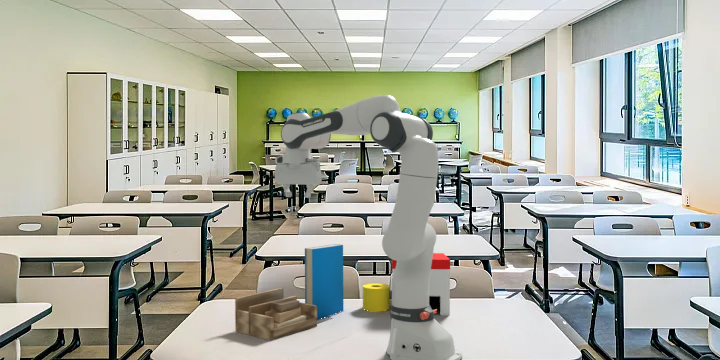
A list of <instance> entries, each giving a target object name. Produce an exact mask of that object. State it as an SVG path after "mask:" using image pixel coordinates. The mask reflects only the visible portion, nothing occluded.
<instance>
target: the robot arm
mask: <svg viewBox="0 0 720 360" xmlns="http://www.w3.org/2000/svg"><path fill="white" fill-rule="evenodd" d="M331 134H335V135H347V136H365V135H366V136H367V135H370V136H371V139H372V140H373V142H374V143H376V144H377V145H379V146H381V147H383V148H384V149H387V150H388V151H390V152H392V153H395V152H398V154H400V157H401V158H400V159H401V164H400V171H399V178H398V186H397V193H396V198H395V199H396V200H395V202H394V203H395V204H394V207H393V211H392V214H391V217H390V218H389V219H390V220H389V224H388V227H387V229H386V231H385V233H384V235H383V236H382V241H381V246H382V249H383V252H384V254H385V255H386V256H387V258H388V257H389V259H391V260H392V259H393V260H397V263H396V268H395V272H394V274H393V277H392V276H391V304H390V309H389V310H390V322H391V323H390V324H391V325H390V326H391V327H390V333H389V340H388V345H387V348H386V354H387V355H389V359H390V360H462V358H463V352H462V351H459V350H456V349H455V341H454V338H453V335H452V334H451V333H450V332H449V331H448V330H447V329H446V328H445V327H444V326H442V325H441V323H440V322H439V321H437V319H435V315H434V314H436V313H438V312H437V311H438V309H437V308H436V309H432V307H431V305H430V296H429V277H430V270H431V264H432V258H433V253H434V249H435V244H436V242H437V233H436V230H435V228H434V227H433V226H432V225H431V224H430V223H428V221H429V217H430V214H431V212H432V209H433V207H434V204H435V198H436V191H437V183H438V175H439V174H438V173H439V149H438V145H437V144H436V143H435V141H433V137H434V130H433V126H432V125H431V123H430V122H428V120H426V119H425V118H423V117H421V116H418V115H415V114H412V113H406V112H402V111H401V108H400V104H399V102H398V100H397V99H396V98H395V97H394V96H392V95H389V94H380V95H375V96H371V97H367V98H364V99H361V100H359V101H356V102H354V103H351V104H349V105H346V106H343V107H341V108H338V109H335V110H333V111H330V112H327V113H323V114H320V115H317V116H312V117H311V116H310V115H309V113H306V112H294V113H291V114H289V115H288V116H287V117H286V122H285V123H284V124H283V125H282V127H281V131H280V137H281V140H282V143H284V146H285V153H283V154H281V155H279V156H278V157H275V158H274V160H275V161H274V163H275V164H276V166H275V169H274V181H275V183H276V184H277V185H282V189H283V190H284V193H285V197H286V198H291V197H293V194H292V193H293V192H292V191H291V190H290V187H291V185H306V188H307V189H306V192H304V198H307V199H309V198H311V196H312V191H313V190H314V186H317V185H318V186H319V185H321V183H322V178H323V177H322V169H321V162H320V161H319V160H318V158H311V150H312V149H314V150H319V149H320V150H321V149H325V148H326V147H327V146H328V145H329V143H330V142H331V138H332V136H331Z"/></svg>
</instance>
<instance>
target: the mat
mask: <svg viewBox="0 0 720 360" xmlns="http://www.w3.org/2000/svg"><path fill="white" fill-rule="evenodd" d="M329 319H330V320H332V319H333V318H322V319H317V325H318V324H322V323H324V322H326V321H327V322H328V321H329Z"/></svg>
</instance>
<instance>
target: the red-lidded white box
mask: <svg viewBox="0 0 720 360" xmlns="http://www.w3.org/2000/svg"><path fill="white" fill-rule="evenodd" d="M391 260H392V264H391V265H392V266H391V268H392V275H391V278H392V277H393V274H394V272H395V268H396V263H397V260H393V259H391ZM450 276H451V259H450V258H449V257H448V256H447V255H446V254H445V253H444V252H443V253H442V252H437V253H435V252H433V258H432V264H431V270H430V277H429V297H437V299H438V303H440V304H439V305H440V307H439V309H440V311H439V314H440V316H451V315H450V313H451V312H450V311H451V308H450V307H451V306H450V305H451V301H450V300H451V298H450V297H451V292H450V291H451V289H450V288H451V283H450V282H451V280H450V279H451V277H450Z"/></svg>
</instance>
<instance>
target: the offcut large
mask: <svg viewBox="0 0 720 360" xmlns="http://www.w3.org/2000/svg"><path fill="white" fill-rule="evenodd" d="M303 320H306V316H305V315H301V317H298V318H295V319H292V320H289V321H287V322H284V323H281V324H278V323H274V329H276V328H279V327H282V326H286V325H289V324H293V323H296V322H300V321H303Z"/></svg>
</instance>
